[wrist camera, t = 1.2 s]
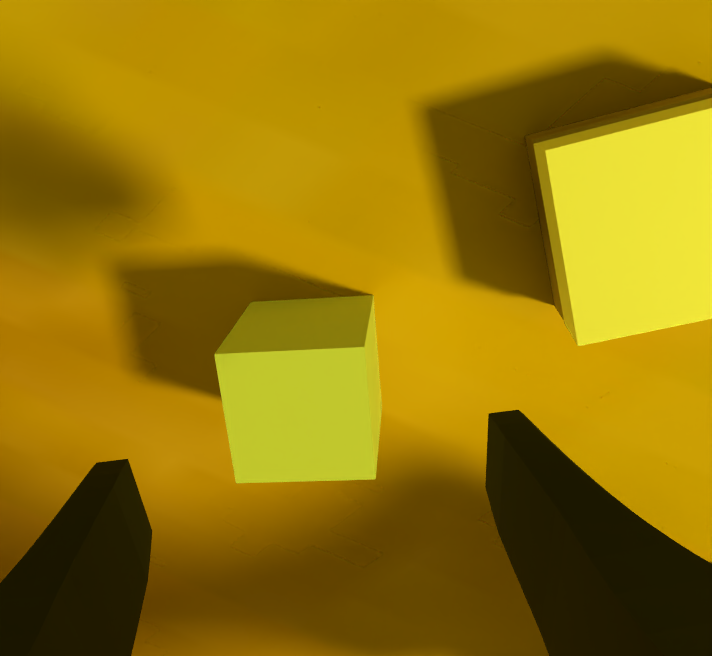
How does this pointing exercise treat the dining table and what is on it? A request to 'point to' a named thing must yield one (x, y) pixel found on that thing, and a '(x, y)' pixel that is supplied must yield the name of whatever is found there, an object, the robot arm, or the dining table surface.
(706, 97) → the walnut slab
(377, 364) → the sage block
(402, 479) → the dining table surface
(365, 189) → the dining table surface
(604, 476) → the dining table surface
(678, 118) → the cream slab
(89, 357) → the dining table surface
